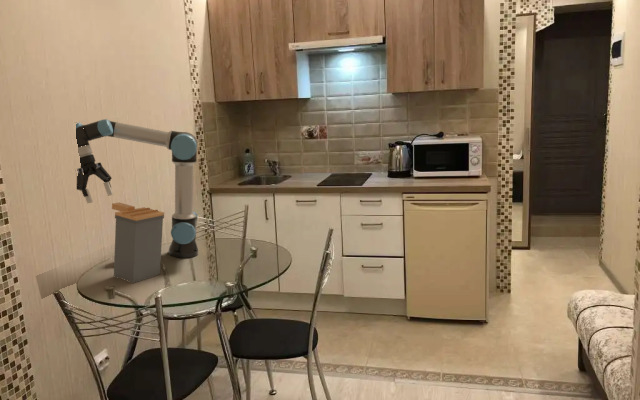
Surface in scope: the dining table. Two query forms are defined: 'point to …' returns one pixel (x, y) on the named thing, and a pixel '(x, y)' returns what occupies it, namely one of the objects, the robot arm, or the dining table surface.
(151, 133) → the robot arm
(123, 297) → the dining table surface
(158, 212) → the lid
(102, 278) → the dining table surface
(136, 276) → the tall grey box
